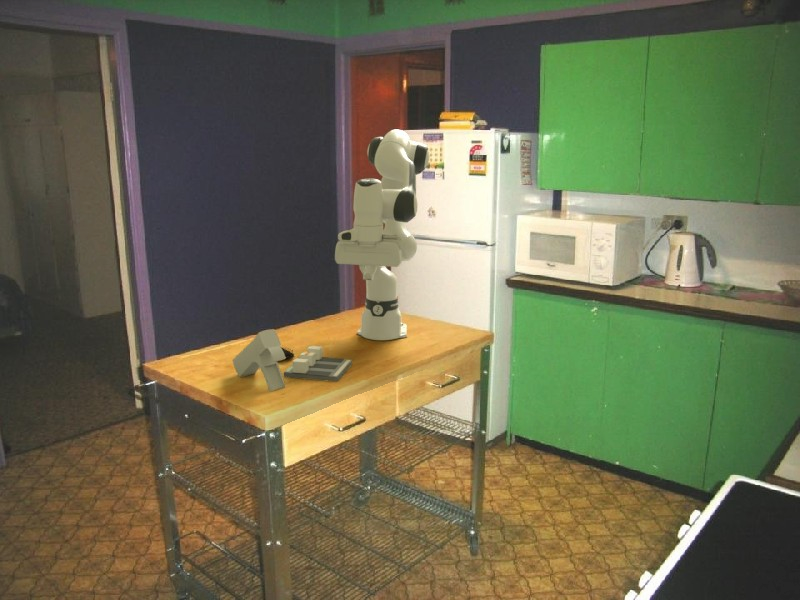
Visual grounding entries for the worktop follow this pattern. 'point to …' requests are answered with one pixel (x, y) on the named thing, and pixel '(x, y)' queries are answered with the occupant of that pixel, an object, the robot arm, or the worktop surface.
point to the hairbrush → (287, 353)
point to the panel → (323, 369)
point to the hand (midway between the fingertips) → (368, 279)
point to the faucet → (262, 359)
